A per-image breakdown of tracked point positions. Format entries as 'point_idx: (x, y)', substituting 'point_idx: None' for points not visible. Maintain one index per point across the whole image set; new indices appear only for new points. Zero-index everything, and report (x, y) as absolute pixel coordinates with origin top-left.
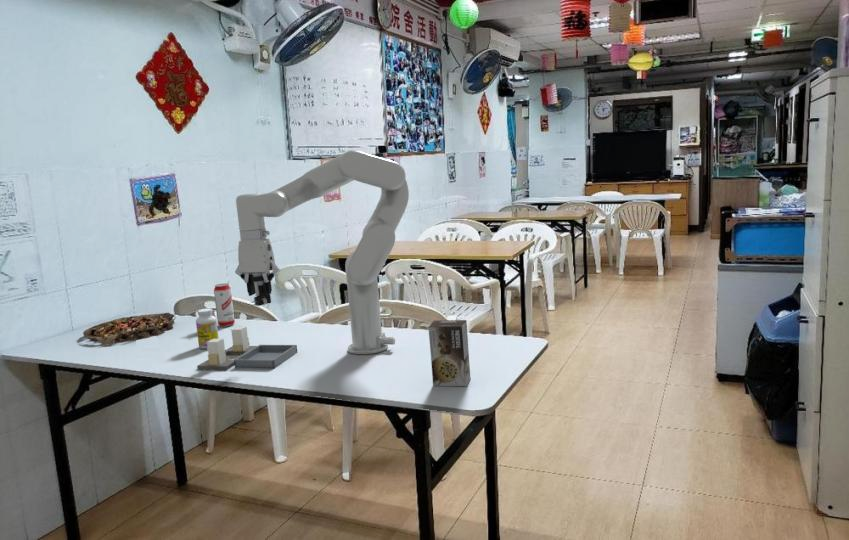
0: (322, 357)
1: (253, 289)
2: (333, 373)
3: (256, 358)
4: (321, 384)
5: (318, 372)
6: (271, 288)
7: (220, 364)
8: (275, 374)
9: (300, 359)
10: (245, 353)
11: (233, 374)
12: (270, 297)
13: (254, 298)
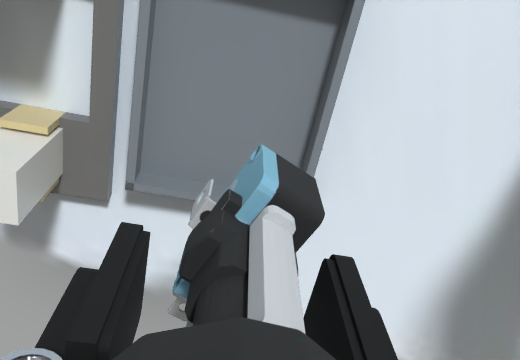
0: (478, 90)
1: (134, 299)
2: (506, 269)
3: (186, 88)
4: (466, 341)
5: (459, 255)
6: (382, 325)
7: (66, 176)
8: (316, 256)
9: (384, 103)
10: (134, 101)
11: (161, 239)
12: (319, 200)
13: (181, 291)
